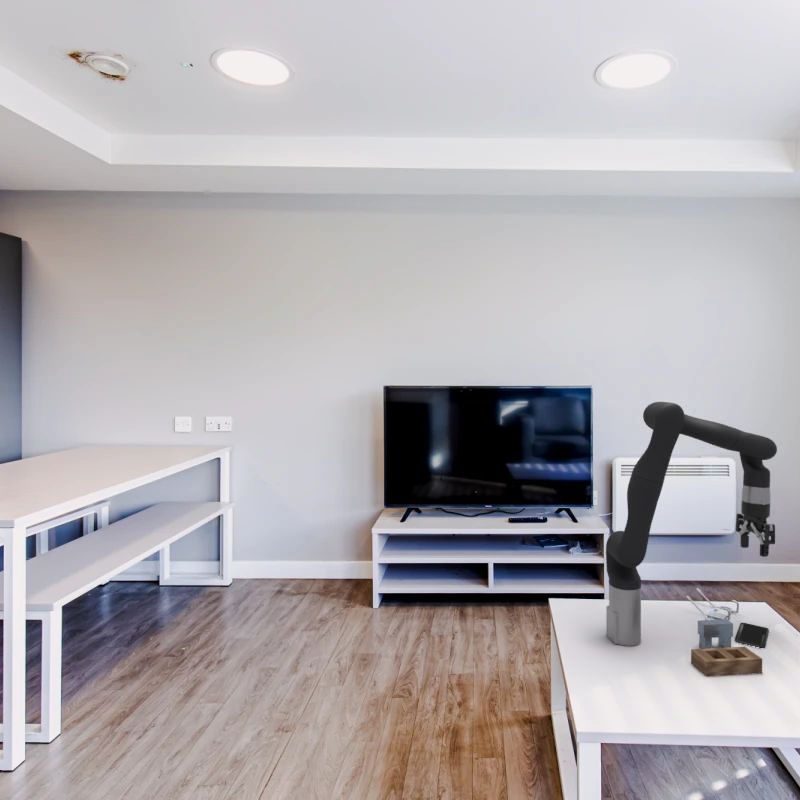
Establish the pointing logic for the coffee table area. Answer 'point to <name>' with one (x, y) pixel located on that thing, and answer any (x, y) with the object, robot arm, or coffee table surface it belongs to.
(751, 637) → the phone
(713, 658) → the two-pocket wooden block
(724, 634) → the brushed steel block
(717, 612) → the silver thin wire frame
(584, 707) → the coffee table surface
